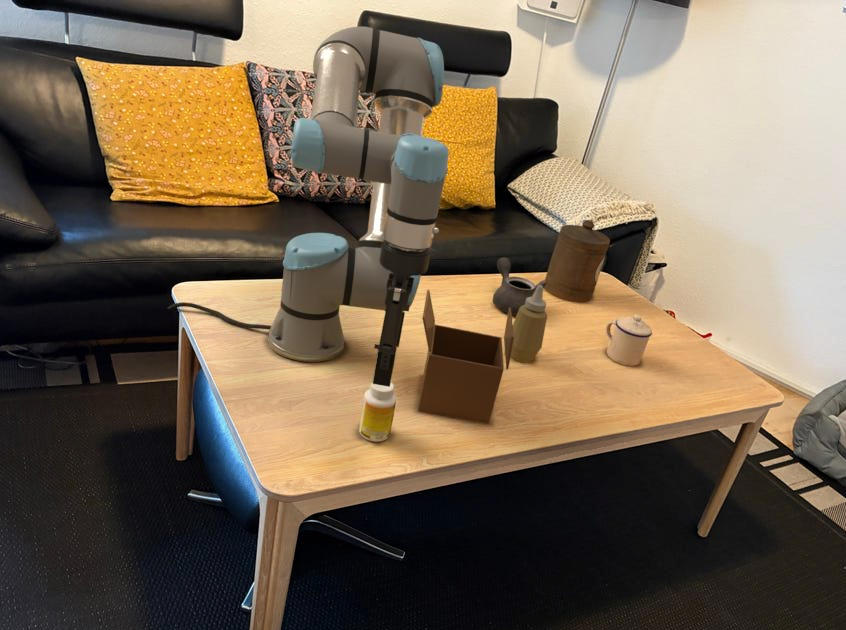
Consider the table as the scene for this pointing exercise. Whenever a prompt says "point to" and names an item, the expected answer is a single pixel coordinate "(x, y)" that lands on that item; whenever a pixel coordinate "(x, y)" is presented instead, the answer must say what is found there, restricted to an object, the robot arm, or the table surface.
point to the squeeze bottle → (529, 327)
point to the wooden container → (576, 262)
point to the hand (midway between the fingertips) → (386, 363)
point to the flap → (428, 320)
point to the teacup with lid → (628, 340)
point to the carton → (464, 372)
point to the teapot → (512, 289)
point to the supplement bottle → (377, 412)
